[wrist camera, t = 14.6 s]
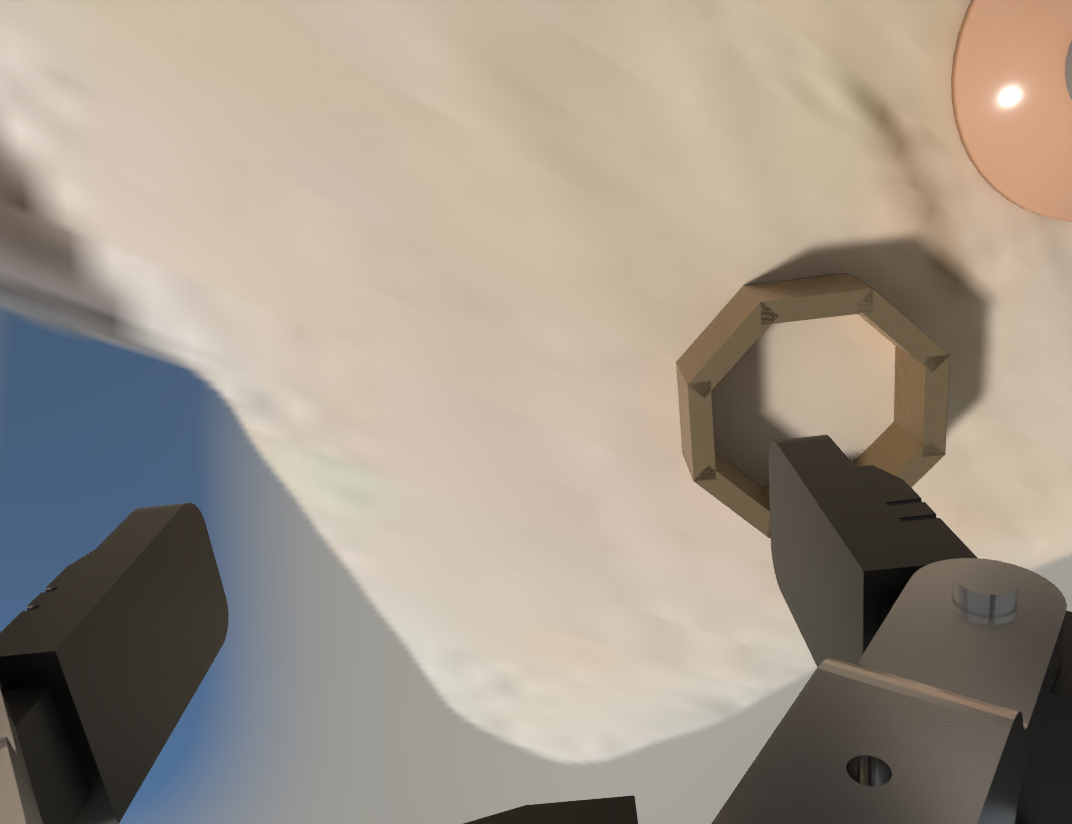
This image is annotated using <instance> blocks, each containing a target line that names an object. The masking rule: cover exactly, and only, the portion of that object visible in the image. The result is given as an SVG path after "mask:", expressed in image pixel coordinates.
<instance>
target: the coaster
mask: <svg viewBox="0 0 1072 824" xmlns="http://www.w3.org/2000/svg"><path fill="white" fill-rule="evenodd" d="M1071 41H1072V0H971V2H970V4H969V7H968V9H967V11H966V14H965V17H964V20H963V22H962V25H961V28H960V31H959V34H958V39H957V43H956V48H955V52H954V58H953V68H952V78H951V83H952V104H953V110H954V117H955V122H956V125H957V129H958V132H959V135H960V139H961V141H962V144H963V146H964V148H965V150H966V152H967V154H968V156H969V158H970V160H971V161H972V163H973V164H974V166H975V167H976V169H977V170H978V172H979V173H980V175H981V176H982V177H983V178H984V179H985V180H986V181H987V182H988V183H989V185H990V186H991V187H992V188H993V189H995V190H996V191H997V192H998V193H1000V194H1001V195H1002V196H1003V197H1005V198H1006V199H1007V200H1009V201H1011V202H1013V203H1014V204H1016V205H1018V206H1020V207H1021V208H1023V209H1026V210H1028V211H1031V212H1034V213H1036V214H1039V215H1042V216H1046V217H1051V218H1055V219H1060V220H1064V221H1071V222H1072V99H1071V98H1070V95H1069V92H1068V90H1067V87H1066V80H1065V62H1066V57H1067V53H1068V49H1069V45H1070V43H1071Z"/></svg>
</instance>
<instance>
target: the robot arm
mask: <svg viewBox="0 0 1072 824" xmlns="http://www.w3.org/2000/svg"><path fill="white" fill-rule="evenodd" d="M768 466H769V496H770V527H771V550H772V558H773V565H774V570H775V574H776V578H777V582H778V585H779V588H780V590H781V592H782V595H783V597H784V599H785V601H786V603H787V605H788V607H789V609H790V611H791V613H792V615H793V617H794V619H795V621H796V623H797V626H798V628H799V630H800V632H801V634H802V636H803V638H804V640H805V642H806V644H807V646H808V648H809V650H810V652H811V655H812V657H813V659H814V661H815V663H816V665H817V667H818V668H817V669H816V670H815V672H814V673H813V675H812V676H811V678H810V680H809V681H808V682H807V684H806V685H805V687H804V688H803V690H802V691H801V693H800V694H799V696H798V697H797V698H796V700H795V702H794V703H793V704H792V706H791V707H790V709H789V710H788V712H787V713H786V715H785V716H784V718H783V719H782V721H781V722H780V724H779V725H778V726H777V728H776V729H775V731H774V732H773V734H772V735H771V737H770V738H769V740H768V741H767V743H766V744H765V746H764V747H763V749H762V750H761V752H760V753H759V755H758V756H757V757H756V759H755V761H754V762H753V763H752V765H751V766H750V768H749V769H748V771H747V772H746V774H745V775H744V777H743V778H742V780H741V781H740V783H739V784H738V785H737V787H736V788H735V790H734V791H733V793H732V794H731V796H730V797H729V799H728V800H727V802H726V803H725V805H724V806H723V808H722V809H721V810H720V812H719V814H718V815H717V817H716V818H715V819H714V821H713V822H712V824H1072V612H1069V611H1066V607H1067V604H1066V600H1065V598H1064V596H1063V594H1062V593H1061V591H1060V590H1059V589H1058V588H1057V587H1056V586H1055V585H1054V584H1052V583H1051V582H1050V581H1048V580H1047V579H1045V578H1044V577H1042V576H1040V575H1038V574H1037V573H1035V572H1032V571H1030V570H1028V569H1025V568H1022V567H1019V566H1016V565H1013V564H1009V563H1005V562H1001V561H995V560H989V559H978V558H977V557H976V556H975V555H974V554H973V553H972V552H971V551H970V550H969V548H968V547H967V546H966V545H965V544H964V543H963V542H962V541H961V540H960V539H959V538H958V537H957V536H956V535H955V534H954V533H953V532H952V530H951V529H950V528H949V527H948V526H947V525H946V524H945V523H944V522H943V521H942V520H941V519H940V518H936V514H935V512H934V511H933V510H932V509H931V508H930V507H929V506H928V505H927V504H926V503H925V502H922V501H921V498H920V497H919V496H918V494H917V493H916V492H915V491H914V490H913V489H912V488H911V487H910V486H909V485H908V484H907V483H906V482H905V481H904V480H903V479H901V478H899V477H897V476H895V475H893V474H890V473H888V472H886V471H884V470H882V469H880V468H878V467H875V466H873V465H868V466H858V467H855V466H854V465H853V464H852V463H851V461H850V460H849V459H848V458H847V457H846V456H845V454H844V453H843V452H842V451H841V450H840V448H839V447H838V446H837V445H836V444H835V443H834V441H833V440H832V439H831V438H830V437H829V436H828V435H820V436H811V437H802V438H793V439H783V440H774V441H772V442H771V443H770V447H769V455H768ZM45 589H46V592H44V593H40V594H39V595H38V596H37V597H36V598H35V599H34V600H33V601H32V602H31V603H30V604H29V605H28V606H27V611H22V612H21V613H20V614H19V615H18V616H17V617H16V618H15V619H14V620H13V621H12V622H11V623H10V624H9V625H8V626H7V627H6V628H5V629H4V630H3V631H2V632H1V633H0V824H119V822H120V820H121V819H122V817H123V815H124V814H125V812H126V810H127V809H128V807H129V805H130V803H131V802H132V800H133V798H134V797H135V795H136V793H137V791H138V790H139V788H140V786H141V785H142V783H143V781H144V779H145V778H146V776H147V774H148V772H149V771H150V769H151V767H152V766H153V764H154V762H155V760H156V759H157V757H158V755H159V754H160V752H161V750H162V748H163V747H164V745H165V743H166V742H167V740H168V738H169V736H170V735H171V733H172V731H173V729H174V728H175V726H176V724H177V723H178V721H179V719H180V717H181V716H182V714H183V712H184V711H185V709H186V707H187V705H188V704H189V702H190V700H191V699H192V697H193V695H194V693H195V692H196V690H197V688H198V687H199V685H200V683H201V682H202V680H203V678H204V676H205V675H206V673H207V671H208V669H209V668H210V666H211V664H212V663H213V661H214V659H215V657H216V656H217V654H218V652H219V650H220V649H221V647H222V645H223V643H224V641H225V638H226V634H227V628H228V606H227V600H226V596H225V593H224V589H223V585H222V582H221V578H220V575H219V571H218V567H217V564H216V560H215V557H214V553H213V550H212V546H211V543H210V539H209V535H208V531H207V528H206V524H205V521H204V518H203V516H202V513H201V512H200V510H199V509H198V507H197V506H196V505H194V504H192V503H183V504H174V505H165V506H156V507H146V508H139V509H136V510H134V511H133V512H132V513H131V514H130V515H129V516H128V517H127V518H126V519H125V520H124V521H123V522H122V523H121V524H120V525H119V526H118V527H117V528H116V529H115V530H114V531H113V532H112V533H111V534H110V535H109V536H108V537H107V538H106V539H105V540H104V541H103V542H102V543H101V544H100V545H99V546H98V547H97V548H96V549H95V550H94V551H92V552H90V553H89V554H87V555H86V556H84V557H82V558H81V559H79V560H77V561H76V562H74V563H73V564H71V565H69V566H68V567H66V569H64V571H62V572H61V573H60V574H59V575H58V576H57V577H56V578H55V579H54V580H53V581H52V582H51V583H50V584H49V585H48V586H47V587H46V588H45ZM464 824H638V820H637V812H636V805H635V797H634V796H624V797H613V798H602V799H590V800H579V801H568V802H557V803H546V804H535V805H526V806H522V807H518V808H515V809H512V810H508V811H505V812H501V813H498V814H495V815H491V816H488V817H484V818H481V819H478V820H475V821H471V822H468V823H464Z"/></svg>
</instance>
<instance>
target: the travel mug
mask: <svg viewBox="0 0 1072 824" xmlns="http://www.w3.org/2000/svg"><path fill="white" fill-rule="evenodd" d="M1065 80H1066V87H1067V90H1068V92H1069V95H1070V98H1071V99H1072V41H1071V43H1070V45H1069V49H1068V53H1067V57H1066V62H1065Z"/></svg>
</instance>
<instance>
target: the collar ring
mask: <svg viewBox="0 0 1072 824" xmlns="http://www.w3.org/2000/svg"><path fill="white" fill-rule="evenodd" d="M851 314H859V315H860V316H861V317H862V318H864V319H865V320H866V321H867V322H868V323H869V324H871V325H872V326H873V327H874V328H875V329H876V330H878V331H879V332H880V333H881V334H882V335H884V336H885V337H886V338H887V339H888V340H889V341H891V342H892V343H893V344H894V345H895V346H896V358H895V407H894V423H893V424H892V425H891V426H890V427H889V428H888V429H887V430H886V431H885V432H884V433H883V434H882V435H881V436H880V437H879V438H878V439H877V440H876V441H875V442H874V443H873V444H872V445H871V446H870V447H869V448H868V449H867V450H866V451H865V452H864V453H863V454H862V455H861V456H860V457H859V458H858V459H857V460H856V461H855V462H854V463H853V465H854V466H855V467H858V466H868V465H873V466H875V467H878V468H880V469H882V470H884V471H886V472H888V473H890V474H893V475H895V476H897V477H899V478H901V479H903V480H904V481H905V482H906V483H907V484H908V485H909V486H910V487H912V486H913V485H914V484H915V483H916V482H917V481H918V480H920V479H921V478H922V477H923V476H924V475H925V474H926V473H927V472H928V471H929V470H930V469H931V468H932V467H933V466H934V465H935V464H936V463H937V462H938V461H939V460H940V459H941V458H942V457H943V456H944V455H945V450H946V427H947V403H948V379H949V356H950V354H948V353H947V352H946V351H944V350H943V349H942V348H941V347H940V346H939V345H937V344H936V343H935V342H934V341H933V340H932V339H931V338H929V337H928V336H927V335H926V334H925V333H924V332H922V331H921V330H920V329H919V328H918V327H917V326H915V325H914V324H913V323H912V322H911V321H910V320H909V319H907V318H906V317H905V316H904V315H903V314H902V313H900V312H899V311H898V310H897V309H896V308H895V307H893V306H892V305H891V304H890V303H889V302H888V301H887V300H885V299H884V298H883V297H882V296H881V295H880V294H878V293H877V292H876V291H875V290H874V289H873V288H871V287H870V286H868V285H866V284H865V283H863V282H861V281H859V280H858V279H856V278H854V277H852V276H851V275H849V274H847V273H845V274H837V275H828V276H820V277H811V278H803V279H794V280H785V281H777V282H768V283H760V284H751V285H743V287H742V288H741V289H740V290H739V291H738V292H737V294H736V295H735V296H734V297H733V298H732V299H731V300H730V302H729V303H728V304H727V305H726V306H725V307H724V308H723V310H722V311H721V312H720V313H719V314H718V315H717V316H716V318H715V319H714V320H713V321H712V322H711V323H710V324H709V325H708V327H707V328H706V329H705V330H704V331H703V332H702V333H701V335H700V336H699V337H698V338H697V339H696V340H695V341H694V343H693V344H692V345H691V346H690V347H689V348H688V349H687V351H686V352H685V353H684V354H683V355H682V356H681V357H680V359H679V360H678V361H677V362H676V365H677V379H678V394H679V408H680V423H681V437H682V453H683V456H684V458H685V461H686V463H687V466H688V468H689V471H690V473H691V476H692V479H693V481H694V482H696V483H697V484H698V485H699V486H701V487H702V488H703V489H705V490H706V491H707V492H709V493H710V494H711V495H713V496H714V497H715V498H717V499H718V500H719V501H721V502H722V503H723V504H725V505H726V506H727V507H729V508H730V509H731V510H733V511H734V512H735V513H737V514H738V515H739V516H741V517H742V518H743V519H745V520H746V521H747V522H749V523H750V524H751V525H752V526H754V527H755V528H756V529H758V530H759V531H760V532H762V533H763V534H764V535H766V536H767V537H768V538H771V527H770V496H769V486H764V487H760V486H758V485H757V484H756V483H754V482H753V481H752V480H751V479H749V478H748V477H747V476H745V475H744V474H743V473H741V472H740V471H739V470H738V469H736V468H735V467H734V466H732V465H731V464H730V463H728V462H727V461H726V460H725V459H723V458H722V457H721V456H719V455H718V454H717V453H715V451H714V433H713V414H712V396H711V390H712V389H713V388H714V387H715V386H716V385H717V384H718V383H719V381H720V380H721V379H722V378H723V377H724V376H725V375H726V374H727V373H728V372H729V370H730V369H731V368H732V367H733V366H734V365H735V364H736V363H737V362H738V360H739V359H740V358H741V357H742V356H743V355H744V354H745V353H746V352H747V350H748V349H749V348H750V347H751V346H752V345H753V344H754V343H755V342H756V340H757V339H758V338H759V337H760V336H761V335H762V334H763V333H764V332H765V330H766V329H767V328H768V327H769V326H770V325H771V324H773V323H782V322H790V321H799V320H808V319H816V318H825V317H834V316H843V315H851Z"/></svg>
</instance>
